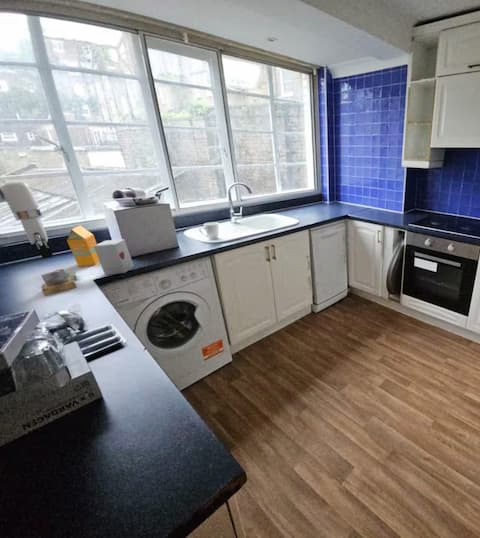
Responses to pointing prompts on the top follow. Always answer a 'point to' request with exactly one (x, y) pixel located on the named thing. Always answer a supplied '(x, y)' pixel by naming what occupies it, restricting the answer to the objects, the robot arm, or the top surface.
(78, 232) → the orange juice
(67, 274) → the button box
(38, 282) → the top surface
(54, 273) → the grey tan flat block
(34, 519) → the top surface
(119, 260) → the white product box
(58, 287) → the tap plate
